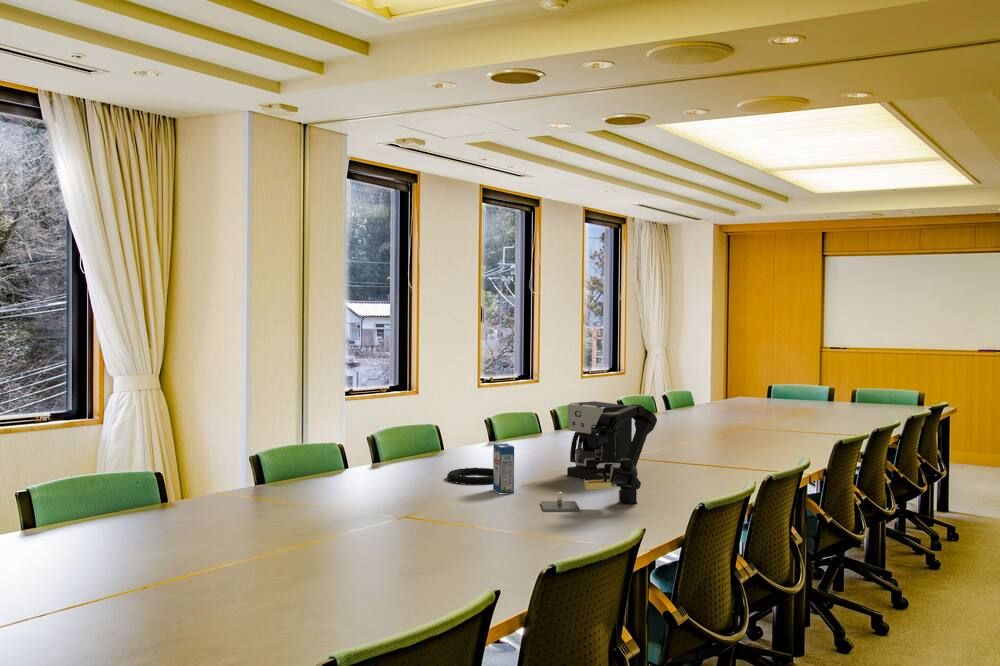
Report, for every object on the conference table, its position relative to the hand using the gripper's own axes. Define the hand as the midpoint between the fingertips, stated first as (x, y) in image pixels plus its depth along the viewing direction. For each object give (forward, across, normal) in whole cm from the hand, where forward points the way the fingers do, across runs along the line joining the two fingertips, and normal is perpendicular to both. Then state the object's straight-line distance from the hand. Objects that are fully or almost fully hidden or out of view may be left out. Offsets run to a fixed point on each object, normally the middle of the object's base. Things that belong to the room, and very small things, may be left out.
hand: (608, 484), depth 342 cm
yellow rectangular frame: (+1, +4, 0) cm, 4 cm away
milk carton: (+9, +40, -31) cm, 52 cm away
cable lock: (+10, +50, -59) cm, 78 cm away
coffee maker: (+9, -5, -64) cm, 65 cm away
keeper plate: (+9, +19, 0) cm, 21 cm away
